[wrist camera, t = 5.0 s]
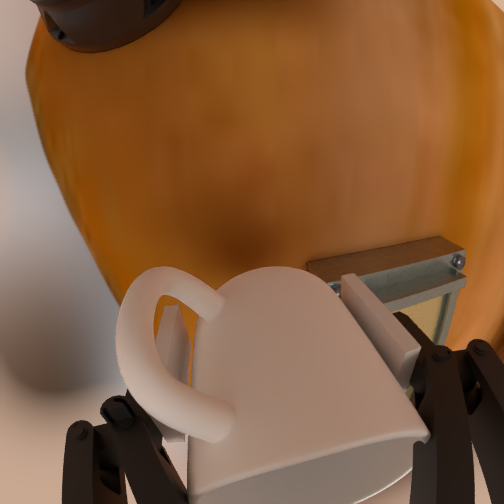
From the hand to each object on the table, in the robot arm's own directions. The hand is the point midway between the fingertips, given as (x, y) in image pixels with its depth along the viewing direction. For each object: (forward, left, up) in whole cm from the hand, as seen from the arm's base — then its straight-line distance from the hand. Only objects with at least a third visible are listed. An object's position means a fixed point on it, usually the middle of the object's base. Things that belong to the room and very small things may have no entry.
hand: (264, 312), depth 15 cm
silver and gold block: (+14, +15, -13) cm, 24 cm away
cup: (0, -1, 0) cm, 1 cm away
